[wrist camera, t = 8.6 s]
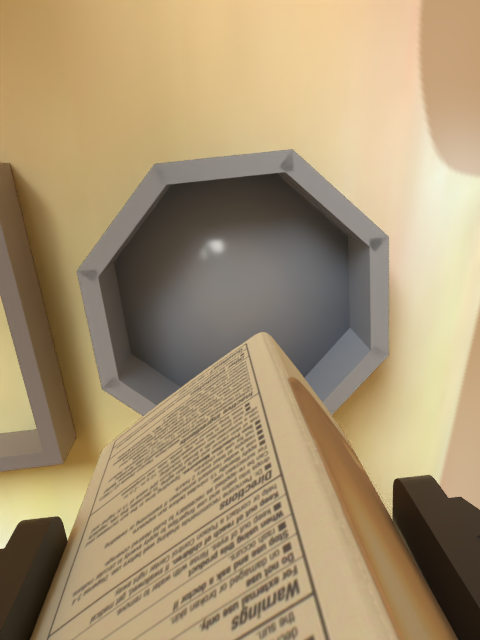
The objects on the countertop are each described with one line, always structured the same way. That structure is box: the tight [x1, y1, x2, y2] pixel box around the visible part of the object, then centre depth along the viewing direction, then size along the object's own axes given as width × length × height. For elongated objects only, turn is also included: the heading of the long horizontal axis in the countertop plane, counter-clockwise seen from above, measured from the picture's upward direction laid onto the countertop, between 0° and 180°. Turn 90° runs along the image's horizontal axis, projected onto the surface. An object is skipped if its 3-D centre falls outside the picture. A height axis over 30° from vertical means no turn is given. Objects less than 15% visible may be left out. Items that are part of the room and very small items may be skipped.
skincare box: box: [30, 332, 458, 640], centre depth 8 cm, size 6×4×12 cm
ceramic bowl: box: [77, 149, 389, 416], centre depth 27 cm, size 16×16×5 cm
